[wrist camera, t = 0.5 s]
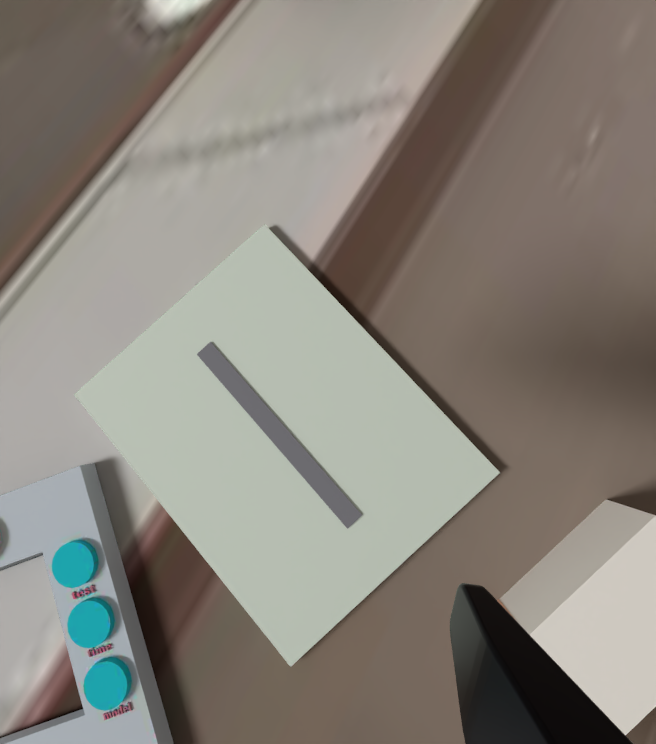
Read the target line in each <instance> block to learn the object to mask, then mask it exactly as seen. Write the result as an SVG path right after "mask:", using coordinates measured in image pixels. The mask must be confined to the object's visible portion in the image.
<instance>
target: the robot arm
mask: <svg viewBox="0 0 656 744" xmlns="http://www.w3.org/2000/svg"><path fill="white" fill-rule="evenodd" d="M450 636H451V644H452V651H453V659H454V667H455V675H456V682H457V690H458V698H459V705H460V713H461V720H462V727H463V733H464V738H465V743H466V744H633V743H632V742H631V741H630V740H629V739H628V738H627V737H626V736H625V734H624V733H623V732H622V731H621V730H620V729H619V728H618V727H617V726H616V725H615V724H614V723H613V722H612V721H611V720H610V719H609V718H608V717H607V716H606V715H605V713H604V712H603V711H602V710H601V709H600V708H599V707H598V706H597V705H596V704H595V703H594V702H593V701H592V700H591V699H590V698H589V697H588V696H587V695H586V694H585V692H584V691H583V690H582V689H581V688H580V687H579V686H578V685H577V684H576V683H575V682H574V681H573V680H572V679H571V678H570V677H569V676H568V675H567V674H566V673H565V671H564V670H563V669H562V668H561V667H560V666H559V665H558V664H557V663H556V662H555V661H554V660H553V659H552V658H551V657H550V656H549V655H548V654H547V653H546V652H545V650H544V649H543V648H542V647H541V646H540V645H539V644H538V643H537V642H536V641H535V640H534V639H533V638H532V637H531V636H530V635H529V634H528V633H527V632H526V631H525V629H524V628H523V627H522V626H521V625H520V624H519V623H518V622H517V621H516V620H515V619H514V618H513V617H512V616H511V615H510V614H509V613H508V612H507V611H506V610H505V609H504V607H503V606H502V605H501V604H500V603H499V602H498V601H497V600H496V599H495V598H494V597H493V596H492V595H491V594H490V593H489V592H488V591H487V590H486V589H485V588H484V587H482V586H480V585H473V584H466V583H462V584H460V585H459V587H458V589H457V592H456V596H455V601H454V605H453V609H452V614H451V618H450Z"/></svg>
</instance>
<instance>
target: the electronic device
mask: <svg viewBox="0 0 656 744" xmlns="http://www.w3.org/2000/svg"><path fill="white" fill-rule="evenodd" d="M41 552H42V553H43V557H44V561H45V564H46V568H47V572H48V576H49V580H50V583H51V587H52V591H53V595H54V599H55V603H56V606H57V610H58V614H59V618H60V622H61V626H62V629H63V633H64V637H65V641H66V645H67V649H68V652H69V656H70V660H71V664H72V668H73V671H74V675H75V679H76V683H77V687H78V691H79V694H80V698H81V702H82V706H83V709H81V710H78V711H75V712H73V713H70V714H67V715H64V716H61V717H59V718H56V719H53V720H50V721H47V722H44V723H42V724H39V725H36V726H33V727H30V728H28V729H25V730H22V731H19V732H16V733H13V734H11V735H8V736H5V737H2V738H0V744H174V743H173V739H172V736H171V732H170V729H169V725H168V722H167V718H166V715H165V711H164V708H163V704H162V700H161V697H160V693H159V690H158V686H157V683H156V679H155V676H154V672H153V669H152V665H151V662H150V658H149V654H148V651H147V647H146V644H145V640H144V637H143V633H142V630H141V626H140V623H139V619H138V616H137V612H136V609H135V605H134V601H133V598H132V594H131V591H130V587H129V584H128V580H127V577H126V573H125V570H124V566H123V563H122V559H121V556H120V552H119V548H118V545H117V541H116V538H115V534H114V531H113V527H112V524H111V520H110V517H109V513H108V510H107V506H106V503H105V499H104V495H103V492H102V488H101V485H100V481H99V478H98V474H97V471H96V467H95V464H94V463H92V464H87V465H81V466H78V467H75V468H72V469H70V470H67V471H64V472H62V473H59V474H56V475H54V476H51V477H48V478H46V479H43V480H40V481H38V482H35V483H32V484H30V485H27V486H24V487H22V488H19V489H16V490H14V491H11V492H8V493H6V494H3V495H0V567H3V566H6V565H8V564H11V563H14V562H16V561H19V560H22V559H24V558H27V557H30V556H33V555H35V554H38V553H41ZM40 556H41V555H40ZM37 557H38V556H37ZM34 558H36V557H34ZM32 559H33V558H32ZM29 560H30V559H29ZM26 561H27V560H26ZM24 562H25V561H24ZM21 563H22V562H21ZM18 564H19V563H18ZM15 565H17V564H15ZM13 566H14V565H13ZM10 567H11V566H10ZM7 568H8V567H7ZM5 569H6V568H5ZM2 570H3V569H2Z"/></svg>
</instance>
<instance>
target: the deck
mask: <svg viewBox="0 0 656 744" xmlns="http://www.w3.org/2000/svg"><path fill="white" fill-rule="evenodd" d="M497 601H498V602H499V603H500V604H501V605H502V606H503V607H504V609H505V610H506V611H507V612H508V613H509V614H510V615H511V616H512V617H513V618H514V619H515V620H516V621H517V622H518V623H519V624H520V625H521V626H522V627H523V628H524V629H525V631H526V632H527V633H528V634H529V635H530V636H531V637H532V638H533V639H534V640H535V641H536V642H537V643H538V644H539V645H540V646H541V647H542V648H543V649H544V650H545V652H546V653H547V654H548V655H549V656H550V657H551V658H552V659H553V660H554V661H555V662H556V663H557V664H558V665H559V666H560V667H561V668H562V669H563V670H564V671H565V673H566V674H567V675H568V676H569V677H570V678H571V679H572V680H573V681H574V682H575V683H576V684H577V685H578V686H579V687H580V688H581V689H582V690H583V691H584V692H585V694H586V695H587V696H588V697H589V698H590V699H591V700H592V701H593V702H594V703H595V704H596V705H597V706H598V707H599V708H600V709H601V710H602V711H603V712H604V713H605V715H606V716H607V717H608V718H609V719H610V720H611V721H612V722H613V723H614V724H615V725H616V726H617V727H618V728H619V729H620V730H621V731H622V732H623V733H624V734H625V735H626V734H627V733H629V732H630V731H631V730H632V729H633V728H634V727H635V726H636V725H637V724H638V723H639V722H640V721H641V720H642V719H643V718H644V717H645V716H646V715H647V714H648V713H649V712H650V711H651V710H652V709H654V708H655V707H656V515H653V514H650V513H646V512H643V511H640V510H637V509H634V508H631V507H628V506H625V505H622V504H619V503H616V502H612V501H609V500H605V501H604V502H603V503H601V504H600V505H599V506H598V507H597V508H596V509H595V510H594V511H593V512H592V513H591V514H590V515H589V516H588V517H587V518H585V519H584V520H583V521H582V522H581V523H580V524H579V525H578V526H577V527H576V528H575V529H574V530H573V531H572V532H571V533H569V534H568V535H567V536H566V537H565V538H564V539H563V540H562V541H561V542H560V543H559V544H558V545H557V546H556V547H554V548H553V549H552V550H551V551H550V552H549V553H548V554H547V555H546V556H545V557H544V558H543V559H542V560H541V561H540V562H538V563H537V564H536V565H535V566H534V567H533V568H532V569H531V570H530V571H529V572H528V573H527V574H526V575H525V576H524V577H522V578H521V579H520V580H519V581H518V582H517V583H516V584H515V585H514V586H513V587H512V588H511V589H510V590H509V591H508V592H506V593H505V594H504V595H503V596H502V597H501V598H500V599H498V600H497Z"/></svg>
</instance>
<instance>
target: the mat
mask: <svg viewBox="0 0 656 744" xmlns="http://www.w3.org/2000/svg"><path fill="white" fill-rule="evenodd" d="M74 396H75V397H76V398H77V399H78V401H79V402H80V403H81V404H82V406H83V407H84V408H85V409H86V411H87V412H88V413H89V414H90V416H91V417H92V418H93V419H94V421H95V422H96V423H97V424H98V426H99V427H100V428H101V429H102V431H103V432H104V433H105V434H106V436H107V437H108V438H109V439H110V441H111V442H112V443H113V444H114V446H115V447H116V448H117V449H118V451H119V452H120V453H121V454H122V456H123V457H124V458H125V460H126V461H127V462H128V463H129V465H130V466H131V467H132V468H133V470H134V471H135V472H136V473H137V475H138V476H139V477H140V478H141V480H142V481H143V482H144V483H145V485H146V486H147V487H148V488H149V490H150V491H151V492H152V493H153V495H154V496H155V497H156V498H157V500H158V501H159V502H160V503H161V505H162V506H163V507H164V508H165V510H166V511H167V512H168V513H169V515H170V516H171V517H172V518H173V520H174V521H175V522H176V523H177V525H178V526H179V527H180V529H181V530H182V531H183V532H184V534H185V535H186V536H187V537H188V539H189V540H190V541H191V542H192V544H193V545H194V546H195V547H196V549H197V550H198V551H199V552H200V554H201V555H202V556H203V557H204V559H205V560H206V561H207V562H208V564H209V565H210V566H211V567H212V569H213V570H214V571H215V572H216V574H217V575H218V576H219V577H220V579H221V580H222V581H223V582H224V584H225V585H226V586H227V587H228V589H229V590H230V591H231V593H232V594H233V595H234V596H235V598H236V599H237V600H238V601H239V603H240V604H241V605H242V606H243V608H244V609H245V610H246V611H247V613H248V614H249V615H250V616H251V618H252V619H253V620H254V621H255V623H256V624H257V625H258V626H259V628H260V629H261V630H262V631H263V633H264V634H265V635H266V636H267V638H268V639H269V640H270V641H271V643H272V644H273V645H274V646H275V648H276V649H277V650H278V651H279V653H280V654H281V655H282V657H283V658H284V659H285V660H286V662H287V663H288V664H289V665H290V667H291V666H292V665H293V664H294V663H295V662H296V661H297V660H299V659H300V658H301V657H302V656H303V655H304V654H305V653H306V652H307V651H308V650H309V649H310V648H311V647H313V646H314V645H315V644H316V643H317V642H318V641H319V640H320V639H321V638H322V637H323V636H324V635H325V634H327V633H328V632H329V631H330V630H331V629H332V628H333V627H334V626H335V625H336V624H337V623H338V622H339V621H341V620H342V619H343V618H344V617H345V616H346V615H347V614H348V613H349V612H350V611H351V610H352V609H354V608H355V607H356V606H357V605H358V604H359V603H360V602H361V601H362V600H363V599H364V598H365V597H366V596H368V595H369V594H370V593H371V592H372V591H373V590H374V589H375V588H376V587H377V586H378V585H379V584H380V583H382V582H383V581H384V580H385V579H386V578H387V577H388V576H389V575H390V574H391V573H392V572H393V571H394V570H396V569H397V568H398V567H399V566H400V565H401V564H402V563H403V562H404V561H405V560H406V559H407V558H408V557H410V556H411V555H412V554H413V553H414V552H415V551H416V550H417V549H418V548H419V547H420V546H421V545H423V544H424V543H425V542H426V541H427V540H428V539H429V538H430V537H431V536H432V535H433V534H434V533H435V532H437V531H438V530H439V529H440V528H441V527H442V526H443V525H444V524H445V523H446V522H447V521H448V520H449V519H451V518H452V517H453V516H454V515H455V514H456V513H457V512H458V511H459V510H460V509H461V508H462V507H463V506H465V505H466V504H467V503H468V502H469V501H470V500H471V499H472V498H473V497H474V496H475V495H476V494H477V493H479V492H480V491H481V490H482V489H483V488H484V487H485V486H486V485H487V484H488V483H489V482H490V481H492V480H493V479H494V478H495V477H496V476H497V475H498V474H499V473H500V472H499V471H498V470H497V469H496V468H495V467H494V466H493V465H492V464H491V463H490V461H489V460H488V459H487V458H486V457H485V456H484V455H483V454H482V453H481V452H480V451H479V450H478V449H477V448H476V447H475V446H474V445H473V444H472V442H471V441H470V440H469V439H468V438H467V437H466V436H465V435H464V434H463V433H462V432H461V431H460V430H459V429H458V428H457V427H456V426H455V425H454V423H453V422H452V421H451V420H450V419H449V418H448V417H447V416H446V415H445V414H444V413H443V412H442V411H441V410H440V409H439V408H438V407H437V406H436V404H435V403H434V402H433V401H432V400H431V399H430V398H429V397H428V396H427V395H426V394H425V393H424V392H423V391H422V390H421V389H420V388H419V387H418V385H417V384H416V383H415V382H414V381H413V380H412V379H411V378H410V377H409V376H408V375H407V374H406V373H405V372H404V371H403V370H402V369H401V368H400V366H399V365H398V364H397V363H396V362H395V361H394V360H393V359H392V358H391V357H390V356H389V355H388V354H387V353H386V352H385V351H384V350H383V349H382V347H381V346H380V345H379V344H378V343H377V342H376V341H375V340H374V339H373V338H372V337H371V336H370V335H369V334H368V333H367V332H366V331H365V330H364V328H363V327H362V326H361V325H360V324H359V323H358V322H357V321H356V320H355V319H354V318H353V317H352V316H351V315H350V314H349V313H348V312H347V311H346V309H345V308H344V307H343V306H342V305H341V304H340V303H339V302H338V301H337V300H336V299H335V298H334V297H333V296H332V295H331V294H330V293H329V292H328V290H327V289H326V288H325V287H324V286H323V285H322V284H321V283H320V282H319V281H318V280H317V279H316V278H315V277H314V276H313V275H312V274H311V273H310V271H309V270H308V269H307V268H306V267H305V266H304V265H303V264H302V263H301V262H300V261H299V260H298V259H297V258H296V257H295V256H294V255H293V254H292V252H291V251H290V250H289V249H288V248H287V247H286V246H285V245H284V244H283V243H282V242H281V241H280V240H279V239H278V238H277V237H276V236H275V235H274V233H273V232H272V231H271V230H270V229H269V228H268V227H267V226H266V225H265V224H264V225H263V226H262V227H261V228H259V229H258V230H257V231H256V232H255V233H254V234H253V235H252V236H250V237H249V238H248V239H247V240H246V241H245V242H244V243H243V244H242V245H240V246H239V247H238V248H237V249H236V250H235V251H234V252H233V253H231V254H230V255H229V256H228V257H227V258H226V259H225V260H224V261H223V262H221V263H220V264H219V265H218V266H217V267H216V268H215V269H214V270H212V271H211V272H210V273H209V274H208V275H207V276H206V277H205V278H204V279H202V280H201V281H200V282H199V283H198V284H197V285H196V286H195V287H193V288H192V289H191V290H190V291H189V292H188V293H187V294H186V295H185V296H183V297H182V298H181V299H180V300H179V301H178V302H177V303H176V304H174V305H173V306H172V307H171V308H170V309H169V310H168V311H167V312H166V313H164V314H163V315H162V316H161V317H160V318H159V319H158V320H157V321H155V322H154V323H153V324H152V325H151V326H150V327H149V328H148V329H147V330H145V331H144V332H143V333H142V334H141V335H140V336H139V337H138V338H136V339H135V340H134V341H133V342H132V343H131V344H130V345H129V346H128V347H126V348H125V349H124V350H123V351H122V352H121V353H120V354H119V355H117V356H116V357H115V358H114V359H113V360H112V361H111V362H110V363H109V364H107V365H106V366H105V367H104V368H103V369H102V370H101V371H100V372H98V373H97V374H96V375H95V376H94V377H93V378H92V379H91V380H90V381H88V382H87V383H86V384H85V385H84V386H83V387H82V388H81V389H79V390H78V391H77V392H76V393H75V394H74Z"/></svg>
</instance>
